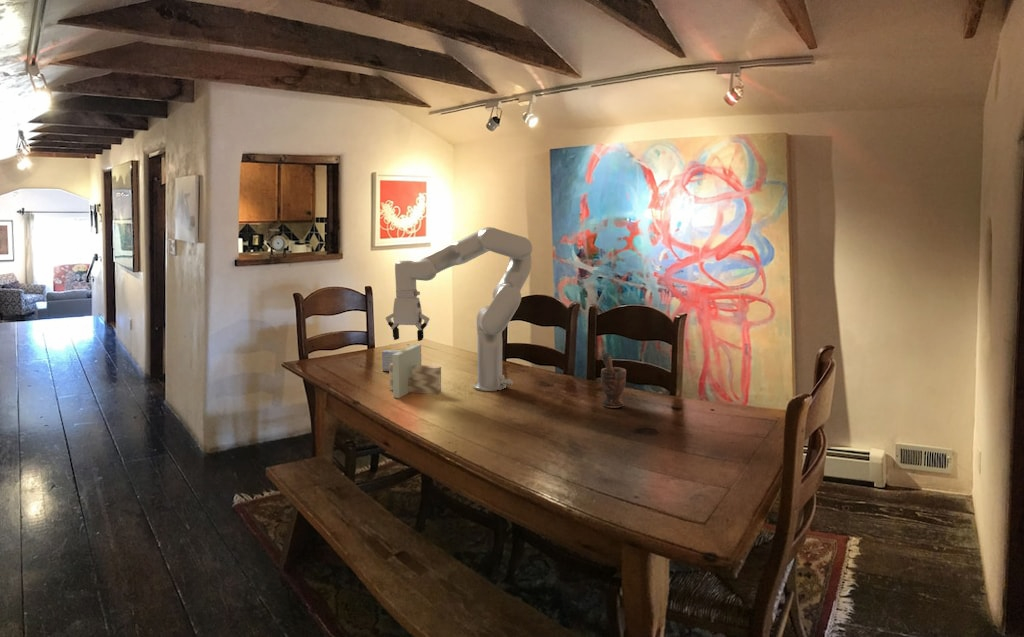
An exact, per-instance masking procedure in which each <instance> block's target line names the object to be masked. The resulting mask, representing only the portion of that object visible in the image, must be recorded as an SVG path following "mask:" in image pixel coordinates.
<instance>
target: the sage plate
mask: <svg viewBox="0 0 1024 637" xmlns="http://www.w3.org/2000/svg"><path fill="white" fill-rule="evenodd" d="M392 364H393V391H392V393H393V394H392V395H393V397H392V398H395V399H400V398H402V397H403V396H405V395H407V394H408V393H409V392H408V379H409V378H412V366H414V365H422V344H413V345H410V346H409V347H407V348H404V349H402V351H399V352H397V353H395V354H392Z"/></svg>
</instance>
